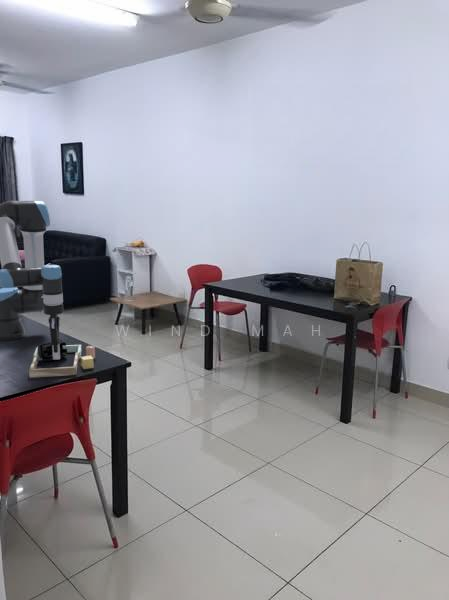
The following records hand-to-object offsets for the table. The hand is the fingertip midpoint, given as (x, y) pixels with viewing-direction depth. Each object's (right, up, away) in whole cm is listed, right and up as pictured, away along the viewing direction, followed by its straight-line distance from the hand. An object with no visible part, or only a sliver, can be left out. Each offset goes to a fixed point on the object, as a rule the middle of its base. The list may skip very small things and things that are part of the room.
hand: (56, 358), depth 196 cm
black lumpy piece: (-3, 0, +5) cm, 5 cm away
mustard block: (+14, -3, -3) cm, 14 cm away
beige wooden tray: (+1, -3, -5) cm, 6 cm away
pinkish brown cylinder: (+12, -1, +7) cm, 14 cm away
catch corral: (-2, 0, +8) cm, 8 cm away
